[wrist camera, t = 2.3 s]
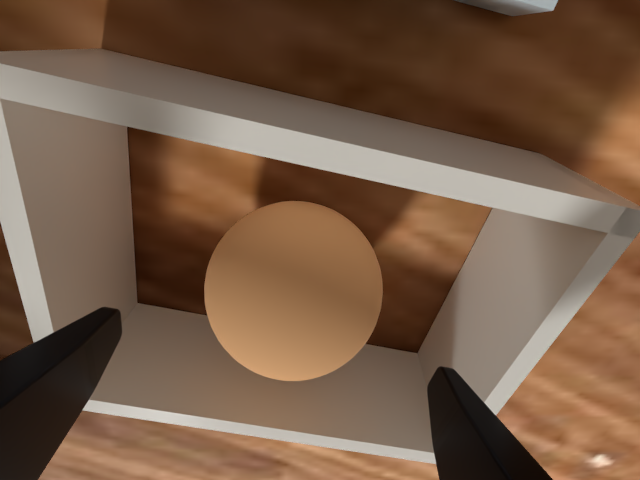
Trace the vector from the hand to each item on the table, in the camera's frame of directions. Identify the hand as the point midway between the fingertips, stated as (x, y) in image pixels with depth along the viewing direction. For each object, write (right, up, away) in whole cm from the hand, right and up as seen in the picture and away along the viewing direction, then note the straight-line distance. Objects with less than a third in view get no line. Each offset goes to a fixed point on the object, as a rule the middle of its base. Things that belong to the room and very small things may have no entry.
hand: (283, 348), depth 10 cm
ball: (0, +1, +2) cm, 3 cm away
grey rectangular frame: (0, +3, +5) cm, 6 cm away
